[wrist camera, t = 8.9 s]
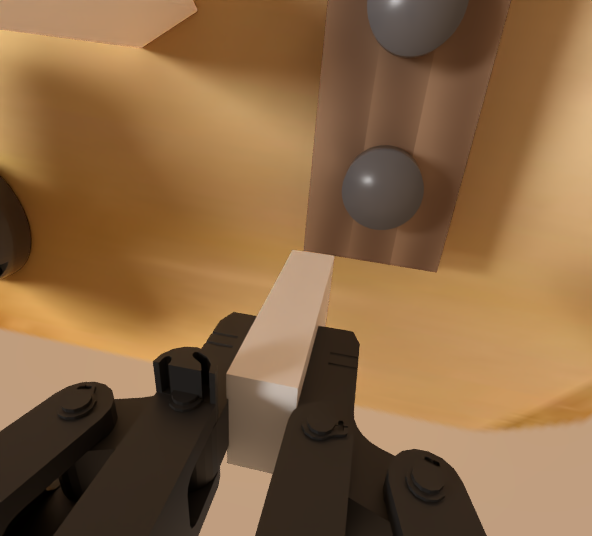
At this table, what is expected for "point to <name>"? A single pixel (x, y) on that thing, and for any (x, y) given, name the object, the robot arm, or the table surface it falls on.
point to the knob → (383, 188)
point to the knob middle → (414, 24)
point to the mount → (397, 127)
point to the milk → (96, 19)
